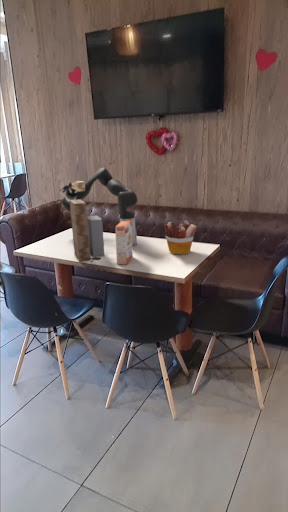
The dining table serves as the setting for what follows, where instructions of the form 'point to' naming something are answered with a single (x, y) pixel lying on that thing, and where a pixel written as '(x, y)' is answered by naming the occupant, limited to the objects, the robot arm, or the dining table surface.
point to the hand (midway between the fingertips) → (74, 183)
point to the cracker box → (124, 242)
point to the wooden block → (80, 230)
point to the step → (95, 236)
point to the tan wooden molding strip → (78, 186)
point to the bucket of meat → (179, 237)
